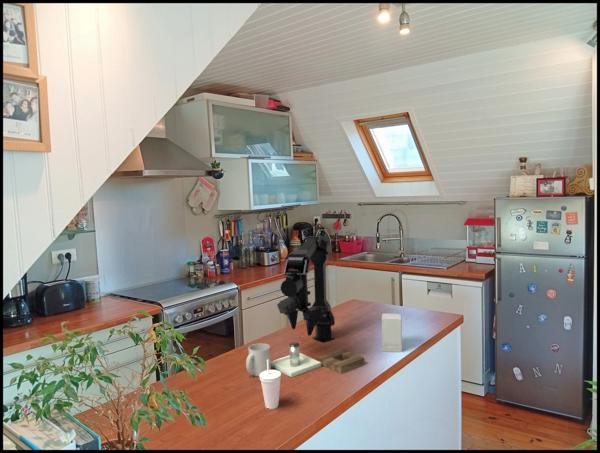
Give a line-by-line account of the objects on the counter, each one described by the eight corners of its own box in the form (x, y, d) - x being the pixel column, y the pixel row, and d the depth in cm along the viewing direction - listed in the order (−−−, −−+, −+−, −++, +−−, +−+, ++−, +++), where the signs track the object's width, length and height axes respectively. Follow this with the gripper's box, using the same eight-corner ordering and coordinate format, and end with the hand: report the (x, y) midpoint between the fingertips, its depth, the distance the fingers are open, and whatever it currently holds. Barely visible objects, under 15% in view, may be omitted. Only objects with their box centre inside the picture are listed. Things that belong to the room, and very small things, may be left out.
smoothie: (260, 401, 137) (258, 356, 135) (282, 399, 137) (280, 354, 136) (260, 412, 130) (258, 364, 129) (283, 410, 131) (281, 363, 129)
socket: (319, 364, 162) (319, 357, 162) (342, 355, 169) (342, 349, 169) (340, 373, 154) (340, 366, 153) (364, 364, 160) (364, 357, 160)
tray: (269, 365, 163) (269, 361, 162) (298, 356, 170) (298, 352, 170) (291, 377, 152) (291, 373, 152) (321, 366, 160) (321, 362, 160)
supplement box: (402, 352, 170) (401, 319, 168) (381, 351, 171) (381, 318, 170) (401, 345, 177) (401, 313, 176) (382, 344, 178) (381, 312, 177)
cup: (275, 370, 159) (273, 345, 158) (255, 381, 151) (254, 355, 150) (259, 366, 163) (258, 341, 162) (239, 376, 155) (238, 351, 154)
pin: (288, 364, 162) (287, 344, 161) (295, 362, 164) (295, 341, 163) (294, 367, 159) (293, 346, 158) (301, 364, 161) (301, 344, 160)
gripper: (265, 288, 163) (267, 331, 165) (296, 298, 148) (299, 345, 150) (290, 282, 169) (293, 323, 171) (323, 292, 155) (325, 336, 156)
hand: (301, 332), depth 162 cm, fingers open, 9 cm apart
